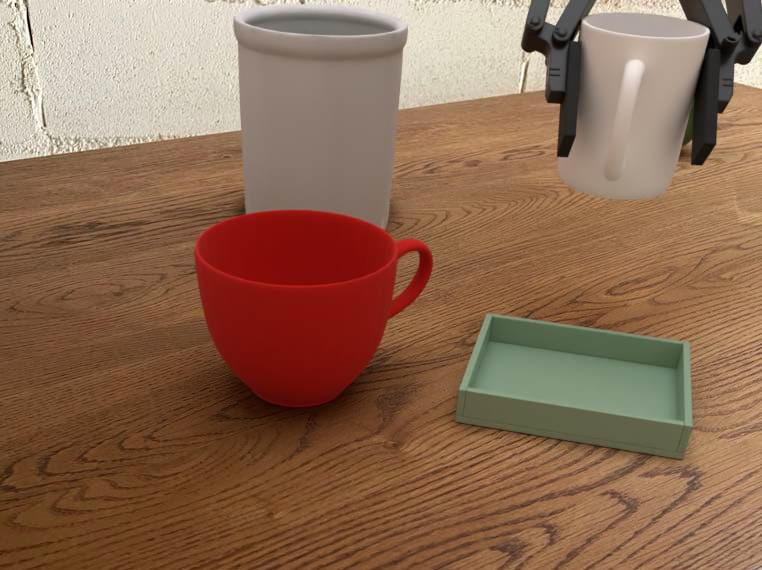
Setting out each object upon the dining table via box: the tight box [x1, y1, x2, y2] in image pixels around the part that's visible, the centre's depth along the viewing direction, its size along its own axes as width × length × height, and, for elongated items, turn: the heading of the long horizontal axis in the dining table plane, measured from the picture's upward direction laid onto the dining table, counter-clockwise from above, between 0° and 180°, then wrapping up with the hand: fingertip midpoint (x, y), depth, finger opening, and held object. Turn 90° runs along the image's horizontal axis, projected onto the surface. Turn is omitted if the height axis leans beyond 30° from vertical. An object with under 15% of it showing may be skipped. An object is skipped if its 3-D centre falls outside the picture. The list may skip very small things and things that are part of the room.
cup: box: [556, 11, 710, 201], centre depth 63 cm, size 8×12×10 cm
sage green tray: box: [454, 312, 694, 460], centre depth 64 cm, size 15×12×2 cm
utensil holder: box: [232, 3, 409, 231], centre depth 84 cm, size 15×15×18 cm
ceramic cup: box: [193, 210, 434, 408], centre depth 63 cm, size 13×17×10 cm
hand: (634, 150), depth 61 cm, fingers closed on cup, 8 cm apart
